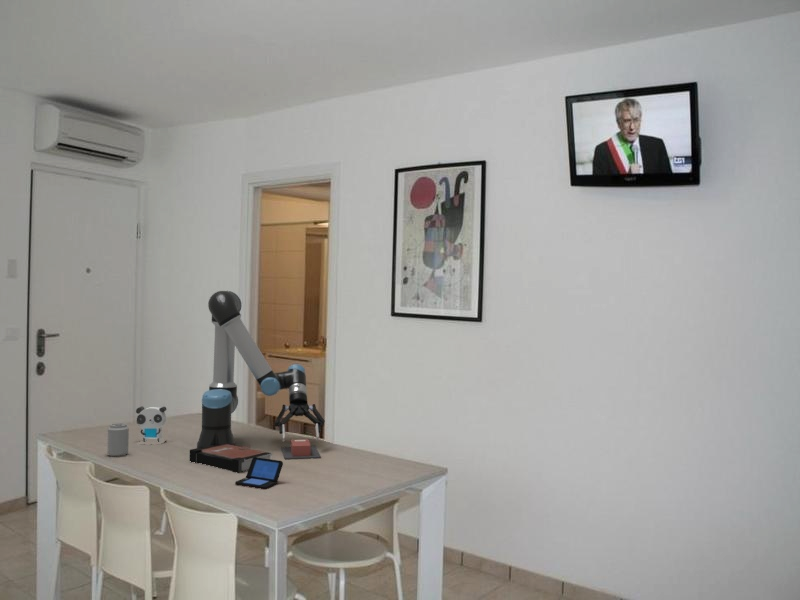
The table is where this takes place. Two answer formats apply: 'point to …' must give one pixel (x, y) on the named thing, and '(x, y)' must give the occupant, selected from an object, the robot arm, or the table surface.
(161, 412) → the panda figurine
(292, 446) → the box
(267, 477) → the handheld game console
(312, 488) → the table surface
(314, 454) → the mat
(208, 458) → the book
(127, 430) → the can
